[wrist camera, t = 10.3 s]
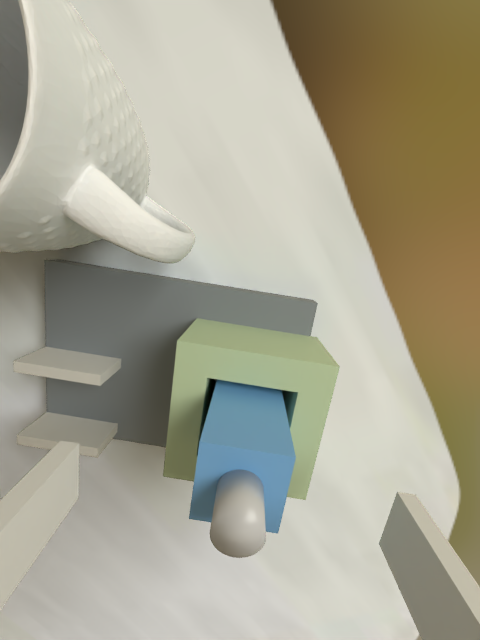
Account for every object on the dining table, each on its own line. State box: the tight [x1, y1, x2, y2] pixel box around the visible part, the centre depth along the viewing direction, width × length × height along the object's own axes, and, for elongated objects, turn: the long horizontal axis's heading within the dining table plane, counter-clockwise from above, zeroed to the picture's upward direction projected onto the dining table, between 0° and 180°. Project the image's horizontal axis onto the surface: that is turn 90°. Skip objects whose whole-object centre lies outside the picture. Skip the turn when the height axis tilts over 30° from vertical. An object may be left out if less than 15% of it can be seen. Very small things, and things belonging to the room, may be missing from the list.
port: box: [163, 318, 339, 500], centre depth 19 cm, size 9×9×6 cm
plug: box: [189, 379, 296, 558], centre depth 16 cm, size 4×4×12 cm
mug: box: [0, 0, 195, 263], centre depth 14 cm, size 15×11×13 cm
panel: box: [13, 260, 318, 458], centre depth 21 cm, size 20×14×4 cm
